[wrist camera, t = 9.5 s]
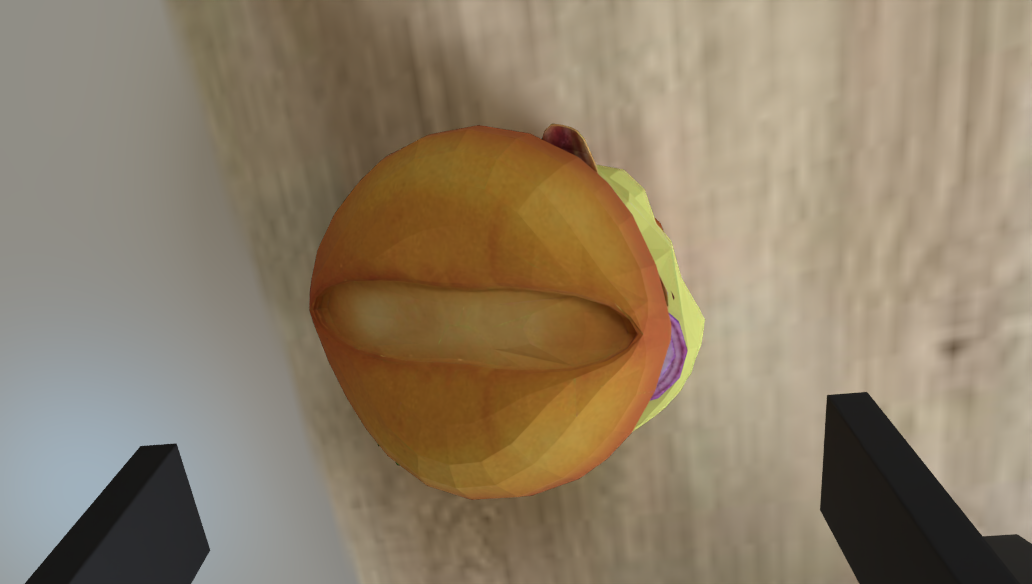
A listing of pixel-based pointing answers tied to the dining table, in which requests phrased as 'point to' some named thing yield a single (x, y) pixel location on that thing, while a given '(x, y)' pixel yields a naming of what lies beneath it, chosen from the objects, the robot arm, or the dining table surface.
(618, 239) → the cheeseburger
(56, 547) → the robot arm
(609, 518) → the dining table surface
